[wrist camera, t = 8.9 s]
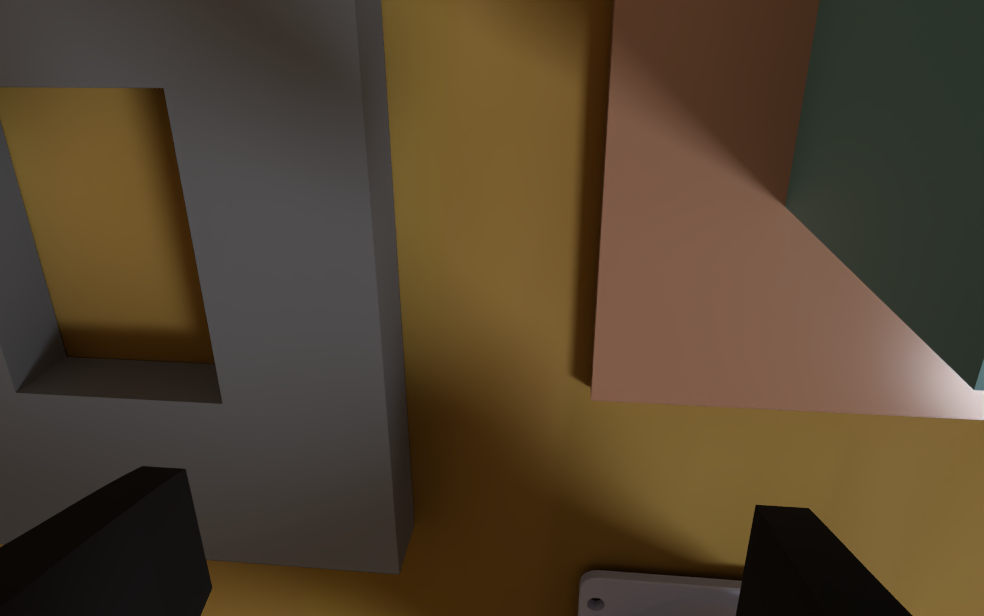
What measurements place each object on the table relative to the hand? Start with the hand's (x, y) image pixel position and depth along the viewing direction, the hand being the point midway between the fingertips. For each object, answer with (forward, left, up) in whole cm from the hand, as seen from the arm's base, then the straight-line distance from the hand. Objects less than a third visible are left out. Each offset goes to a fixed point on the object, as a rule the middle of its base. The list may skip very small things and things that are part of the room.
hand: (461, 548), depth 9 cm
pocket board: (+1, +10, -9) cm, 14 cm away
